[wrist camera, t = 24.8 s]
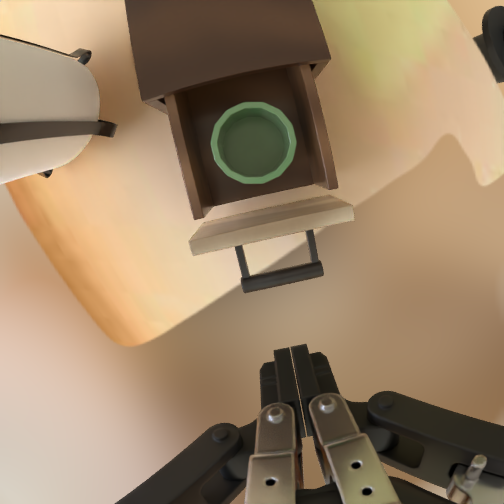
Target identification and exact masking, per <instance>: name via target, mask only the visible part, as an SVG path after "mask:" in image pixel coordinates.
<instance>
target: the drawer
mask: <svg viewBox="0 0 504 504" xmlns="http://www.w3.org/2000/svg"><path fill="white" fill-rule="evenodd" d="M164 98H165V103H166V108H167V112H168V116H169V121H170V125H171V130H172V134H173V138H174V142H175V147H176V151H177V155H178V159H179V163H180V167H181V171H182V175H183V179H184V183H185V187H186V191H187V195H188V199H189V203H190V206H191V210H192V214H193V218H194V220H197V219H201V218H204V217H205V216H206V215H207V213H208V212H209V211H210V210H211V209H212V208H213V207H214V206H218V205H222V204H226V203H230V202H234V201H239V200H243V199H247V198H252V197H256V196H261V195H265V194H270V193H274V192H279V191H283V190H288V189H293V188H298V187H302V186H307V185H312V184H315V185H318V186H320V187H323V188H325V189H328V190H332V189H337V188H338V183H337V178H336V172H335V167H334V162H333V158H332V153H331V148H330V144H329V139H328V135H327V130H326V126H325V122H324V118H323V113H322V109H321V105H320V101H319V97H318V94H317V90H316V86H315V82H314V79H313V75H312V71H311V68H310V64H307V65H300V66H293V67H287V68H281V69H275V70H269V71H264V72H259V73H254V74H249V75H244V76H240V77H235V78H231V79H227V80H223V81H219V82H215V83H211V84H207V85H203V86H199V87H196V88H192V89H189V90H185V91H182V92H179V93H175V94H172V95H169V96H166V97H164ZM242 102H265V103H267V104H269V105H271V106H273V107H276V108H278V109H280V110H281V111H282V112H283V113H284V115H285V116H286V117H287V118H288V119H289V121H290V122H291V123H292V125H293V128H294V132H295V137H296V141H297V145H296V149H295V153H294V158H293V161H292V162H291V164H290V165H289V166H288V167H287V168H286V170H285V171H284V172H283V173H282V175H280V176H279V177H276V178H274V179H272V180H270V181H268V182H266V183H263V184H244V183H242V182H239V181H237V180H235V179H233V178H231V177H229V176H227V175H226V174H225V173H224V172H223V170H222V169H221V168H220V167H219V166H218V164H217V163H216V162H215V160H214V156H213V152H212V148H211V138H212V133H213V129H214V125H215V123H216V122H217V121H218V120H219V119H220V117H221V116H222V115H223V114H224V112H225V111H226V110H228V109H230V108H232V107H234V106H236V105H238V104H240V103H242ZM353 220H355V217H354V211H353V205H351V204H349V203H347V202H345V201H342V200H340V199H338V198H336V197H334V196H332V195H325V196H320V197H315V198H311V199H306V200H301V201H296V202H292V203H287V204H282V205H278V206H273V207H269V208H264V209H260V210H255V211H251V212H246V213H242V214H238V215H233V216H229V217H225V218H221V219H216V220H212V221H208V222H204V223H203V224H202V225H201V226H200V228H199V229H198V230H197V232H196V233H195V234H194V235H193V237H192V238H191V239H190V240H189V245H190V248H191V252H192V255H193V256H195V255H200V254H204V253H208V252H213V251H217V250H222V249H226V248H231V247H235V250H236V254H237V258H238V262H239V266H240V270H241V274H242V277H241V285H242V289H243V292H244V293H248V292H253V291H258V290H263V289H267V288H272V287H276V286H281V285H285V284H290V283H295V282H299V281H303V280H308V279H312V278H317V277H321V276H323V275H324V272H323V267H322V263H321V261H320V260H318V254H317V249H316V243H315V238H314V232H313V229H316V228H321V227H326V226H330V225H334V224H339V223H344V222H349V221H353ZM303 231H305V232H306V237H307V242H308V247H309V253H310V259H311V262H310V263H305V264H301V265H297V266H292V267H287V268H283V269H279V270H274V271H269V272H264V273H260V274H255V275H251V276H250V274H249V270H248V266H247V262H246V258H245V254H244V250H243V246H242V245H244V244H248V243H253V242H257V241H262V240H266V239H271V238H275V237H280V236H285V235H289V234H294V233H298V232H303Z"/></svg>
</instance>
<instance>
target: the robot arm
mask: <svg viewBox="0 0 504 504" xmlns="http://www.w3.org/2000/svg"><path fill="white" fill-rule="evenodd" d="M503 39H504V27H503ZM291 352H292V357H293V363H294V368H295V373H296V379H297V384H298V389H299V394H300V399H301V404H302V410H303V415H304V420H305V425H306V430H307V436H313V440H314V445H315V451H316V455H317V457H318V461H319V464H320V467H321V471H322V474H323V477H324V480H325V483H326V485H325V486H322V487H320V488H317V489H304V477H303V457H302V440H301V438H303V437H306V434H305V428H304V423H303V418H302V412H301V406H300V400H299V395H298V389H297V384H296V379H295V374H294V369H293V364H292V359H291V354H290V349H289V347H288V348H283V349H278V350H274V358H275V361H273V362H267V363H264V364H263V366H262V368H261V369H260V385H261V386H260V387H261V388H260V389H261V411H260V412H259V414H258V417H257V419H256V420H254V421H253V422H252V423H250V424H248V425H245V426H243V427H240V428H237V427H236V426H235V425H233V424H230V423H220V424H216V425H214V426H212V427H210V428H209V429H208V430H206V431H205V432H204V433H203V434H202V435H201V436H200V437H198V438H197V439H196V440H195V441H194V442H193V443H192V444H190V445H189V446H188V447H187V448H186V449H184V450H183V451H182V452H181V453H180V454H178V455H177V456H176V457H175V458H174V459H172V460H171V461H170V462H169V463H168V464H166V465H165V466H164V467H163V468H161V469H160V470H159V471H157V472H156V473H155V474H154V475H152V476H151V477H150V478H149V479H147V480H146V481H145V482H143V483H142V484H141V485H139V486H138V487H137V488H136V489H134V490H133V491H132V492H130V493H129V494H127V495H126V496H125V497H123V498H122V499H121V500H119V501H118V502H117V503H115V504H230V503H231V502H232V501H233V500H234V499H235V498H236V497H237V495H239V494H240V492H241V491H242V490H243V489H244V488H245V487H246V494H245V503H244V504H504V426H501V425H497V424H494V423H490V422H487V421H483V420H479V419H476V418H473V417H469V416H466V415H463V414H459V413H456V412H453V411H449V410H446V409H443V408H440V407H437V406H434V405H431V404H428V403H425V402H422V401H419V400H416V399H413V398H410V397H407V396H405V395H402V394H399V393H396V392H393V391H383V392H379V393H377V394H375V395H374V396H372V397H371V398H370V399H369V401H368V402H351V401H348V400H346V399H344V398H343V397H342V396H341V395H340V393H339V390H338V388H337V384H336V382H335V379H334V376H333V373H332V371H331V368H330V365H329V362H328V360H327V357H326V356H325V355H323V354H322V353H321V352H316V353H312V354H309V351H308V348H307V345H306V344H303V345H298V346H293V347H291ZM381 462H383V463H385V464H387V465H390V466H392V467H394V468H396V469H399V470H401V471H403V472H405V473H408V474H410V475H412V476H415V477H417V478H420V479H422V480H425V481H427V482H430V483H432V484H434V485H437V486H440V487H442V488H445V489H446V494H447V497H448V499H449V500H448V499H445V498H443V497H441V496H438V495H436V494H434V493H432V492H429V491H427V490H425V489H423V488H421V487H418V486H416V485H414V484H412V483H410V482H408V481H405V480H403V479H400V478H396V477H391V476H388V475H387V473H386V471H385V469H384V467H383V465H382V463H381Z"/></svg>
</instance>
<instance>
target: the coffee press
mask: <svg viewBox="0 0 504 504" xmlns="http://www.w3.org/2000/svg"><path fill="white" fill-rule="evenodd" d="M2 38H3V39H2ZM6 39H7V40H6ZM10 40H11V41H10ZM14 41H15V42H14ZM18 42H19V43H18ZM22 43H23V44H22ZM26 44H27V45H26ZM29 45H30V46H29ZM33 46H34V47H33ZM36 47H37V48H36ZM40 48H41V49H40ZM43 49H44V50H43ZM47 50H48V51H47ZM50 51H51V52H50ZM53 52H54V53H53ZM56 53H58V54H56ZM59 54H61V55H59ZM91 54H92V53H91V51H90V50H85V49H78V50H76V51H75V52H73V53H71V54H69V55H68V54H65V53H62V52H59V51H56V50H53V49H50V48H47V47H43V46H40V45H37V44H33V43H30V42H27V41H23V40H19V39H16V38H12V37H8V36H4V35H0V184H3V183H6V182H9V181H13V180H16V179H19V178H23V177H26V176H29V175H33V174H36V173H37V174H39V175H41V176H43V177H45V178H48V177H50V175H51V174H52V171H53V169H54V168H58V167H60V166H63V165H65V164H67V163H69V162H70V161H72V160H73V159H74V158H76V157H77V156H78V155H79V154H80V153H81V152H82V151H83V149H84V148H85V147H86V145H87V144H88V142H89V141H90V139H91V137H92V135H101V136H107V137H114V134H115V131H116V128H117V126H118V125H117V124H114V123H111V122H108V121H103V120H99V119H98V117H99V110H100V96H99V90H98V86H97V83H96V80H95V78H94V76H93V75H92V73H91V72H90V70H89V69H88V68H87V67H86V66H85V64H86V63H88V61H89V60H90V58H91ZM62 55H65V56H70V57H75V58H78V57H80V56H81V57H80V59H79V60H78V61H76V60H74V59H71V58H68V57H65V56H62Z"/></svg>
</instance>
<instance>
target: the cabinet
mask: <svg viewBox="0 0 504 504" xmlns="http://www.w3.org/2000/svg"><path fill="white" fill-rule="evenodd" d="M125 6H126V14H127V20H128V27H129V33H130V39H131V45H132V51H133V57H134V63H135V68H136V74H137V79H138V84H139V89H140V94H141V99H142V101H143V102H145V103H146V104H148V105H150V106H152V107H154V108H156V109H158V110H160V111H162V112H164V113H166V114H168V112H167V108H166V103H165V98H164V97H166V96H169V95H172V94H175V93H179V92H182V91H185V90H189V89H192V88H196V87H199V86H203V85H207V84H211V83H215V82H219V81H223V80H227V79H231V78H235V77H240V76H244V75H249V74H254V73H259V72H264V71H269V70H275V69H281V68H287V67H293V66H300V65H307V64H310V68H311V71H312V75H313V79H314V80H315V78H316V77H317V76H318V75H319V73H320V72H321V71H322V70H323V68H324V67H325V66H326V65H327V63H328V62H329V61H330V59H331V56H330V53H329V50H328V46H327V43H326V40H325V37H324V34H323V31H322V28H321V25H320V22H319V19H318V16H317V13H316V11H315V8H314V5H313V2H312V0H125Z"/></svg>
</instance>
